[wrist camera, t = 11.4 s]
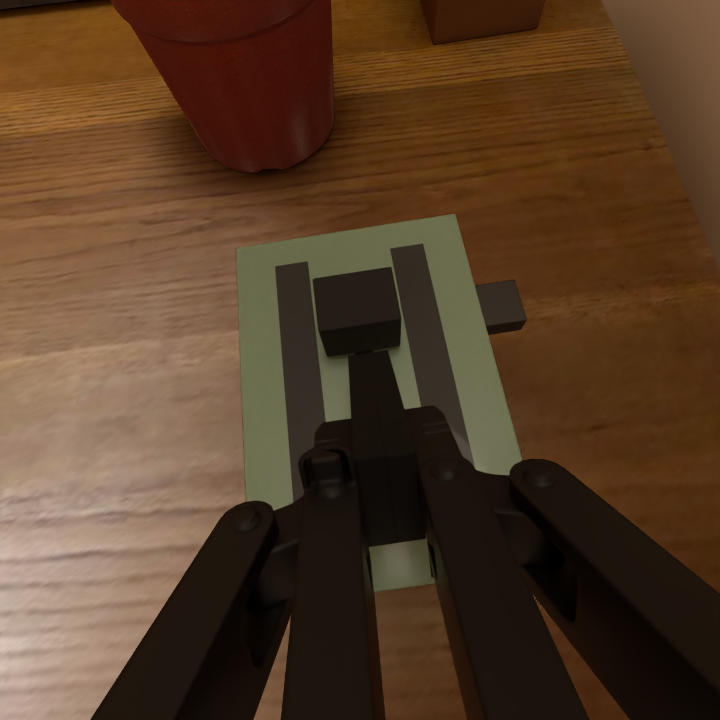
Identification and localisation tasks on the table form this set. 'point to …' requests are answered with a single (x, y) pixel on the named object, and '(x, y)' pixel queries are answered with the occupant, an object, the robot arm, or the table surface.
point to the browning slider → (357, 311)
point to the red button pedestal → (479, 18)
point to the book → (26, 3)
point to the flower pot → (244, 73)
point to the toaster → (409, 360)
